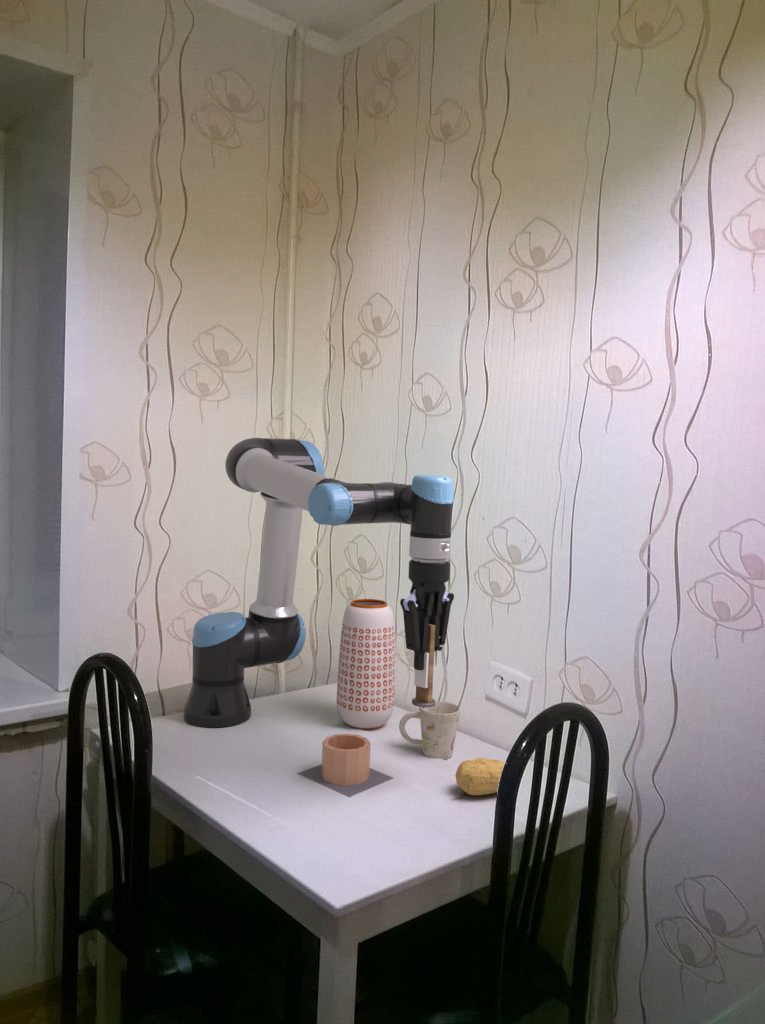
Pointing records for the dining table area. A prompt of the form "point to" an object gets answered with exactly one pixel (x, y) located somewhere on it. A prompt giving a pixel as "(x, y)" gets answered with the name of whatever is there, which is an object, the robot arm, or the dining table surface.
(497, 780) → the potato
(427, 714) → the mug
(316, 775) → the mat
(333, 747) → the jar
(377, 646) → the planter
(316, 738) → the dining table surface
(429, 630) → the long wooden stick
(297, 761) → the dining table surface
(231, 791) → the dining table surface
